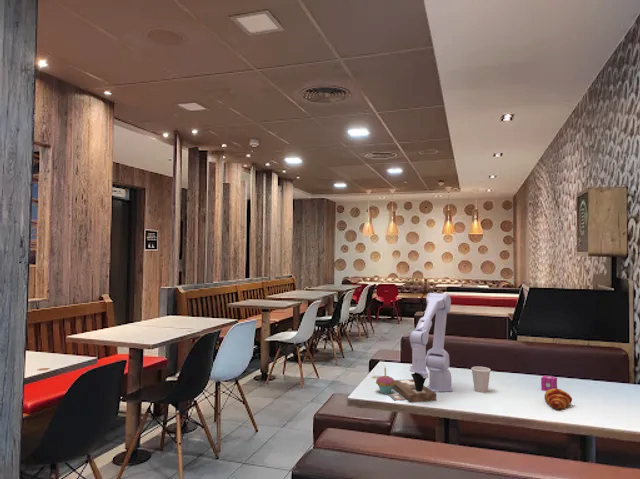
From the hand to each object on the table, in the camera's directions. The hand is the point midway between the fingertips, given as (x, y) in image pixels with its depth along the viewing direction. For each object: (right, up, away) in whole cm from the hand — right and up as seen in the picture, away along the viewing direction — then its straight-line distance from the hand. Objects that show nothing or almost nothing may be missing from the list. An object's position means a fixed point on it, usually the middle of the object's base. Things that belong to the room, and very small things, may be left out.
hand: (419, 391), depth 196 cm
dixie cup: (+31, -4, +13) cm, 34 cm away
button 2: (0, -3, 0) cm, 3 cm away
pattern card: (-9, -3, +1) cm, 10 cm away
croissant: (+56, -4, -6) cm, 57 cm away
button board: (-1, -4, +8) cm, 9 cm away
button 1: (-3, -4, +16) cm, 16 cm away
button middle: (-1, -2, +8) cm, 8 cm away
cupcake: (-13, -4, +10) cm, 17 cm away
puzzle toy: (+63, -5, +15) cm, 65 cm away
